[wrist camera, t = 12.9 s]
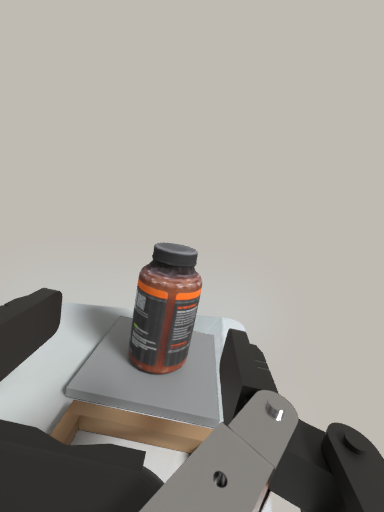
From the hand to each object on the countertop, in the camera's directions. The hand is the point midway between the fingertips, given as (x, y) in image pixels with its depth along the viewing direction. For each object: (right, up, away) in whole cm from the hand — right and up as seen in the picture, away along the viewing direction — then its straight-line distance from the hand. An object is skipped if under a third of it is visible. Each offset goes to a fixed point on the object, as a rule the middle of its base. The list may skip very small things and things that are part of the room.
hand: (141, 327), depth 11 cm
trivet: (-1, -7, +13) cm, 15 cm away
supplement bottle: (-1, -7, +13) cm, 15 cm away
